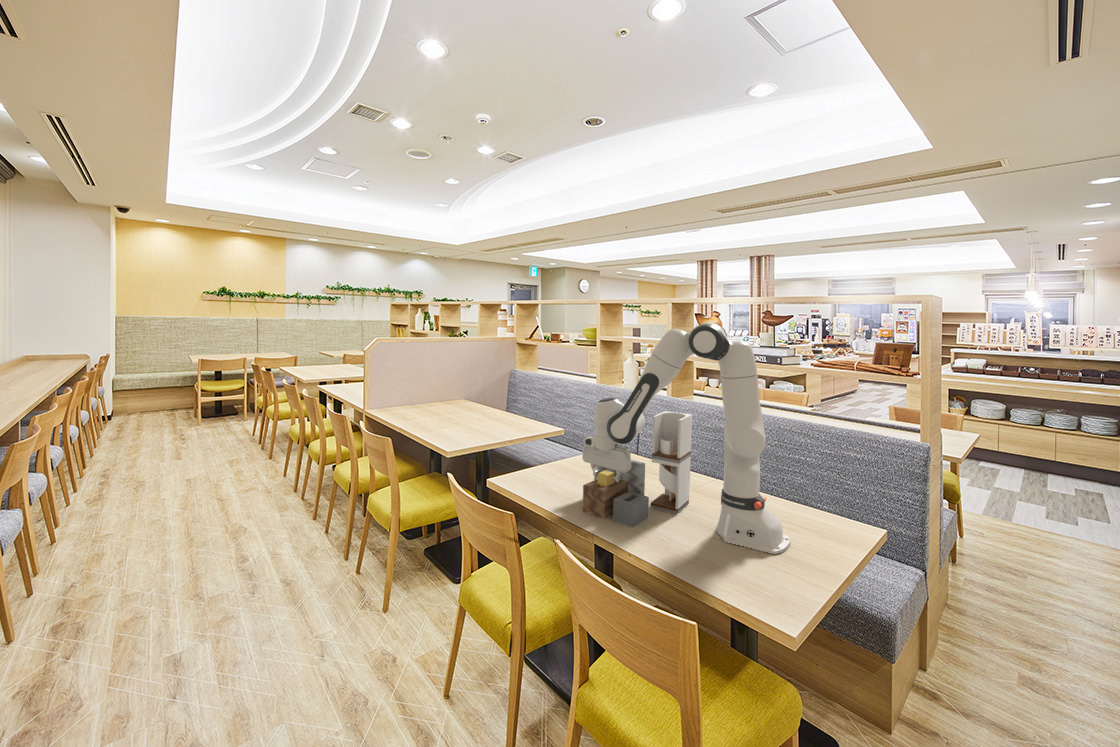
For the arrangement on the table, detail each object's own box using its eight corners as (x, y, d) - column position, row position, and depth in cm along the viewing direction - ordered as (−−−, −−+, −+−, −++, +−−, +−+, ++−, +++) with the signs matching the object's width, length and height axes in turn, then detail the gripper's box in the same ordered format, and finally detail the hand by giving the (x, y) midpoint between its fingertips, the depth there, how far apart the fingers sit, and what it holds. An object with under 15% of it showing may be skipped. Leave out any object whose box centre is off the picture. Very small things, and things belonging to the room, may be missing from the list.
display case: (662, 498, 187) (665, 411, 182) (688, 504, 181) (692, 414, 176) (650, 507, 177) (653, 416, 173) (677, 514, 171) (681, 420, 167)
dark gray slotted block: (648, 518, 168) (648, 496, 167) (632, 527, 161) (632, 505, 160) (629, 512, 173) (629, 491, 172) (613, 520, 166) (613, 498, 165)
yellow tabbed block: (614, 493, 176) (614, 472, 175) (605, 497, 172) (606, 475, 171) (605, 490, 178) (605, 470, 177) (597, 494, 175) (597, 473, 174)
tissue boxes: (643, 510, 175) (645, 463, 173) (618, 524, 163) (619, 474, 161) (597, 494, 190) (597, 451, 188) (570, 506, 178) (571, 460, 176)
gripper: (635, 445, 168) (634, 482, 170) (590, 435, 182) (590, 470, 183) (625, 449, 163) (624, 487, 165) (579, 438, 177) (579, 474, 179)
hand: (606, 478), depth 174 cm, fingers open, 8 cm apart
